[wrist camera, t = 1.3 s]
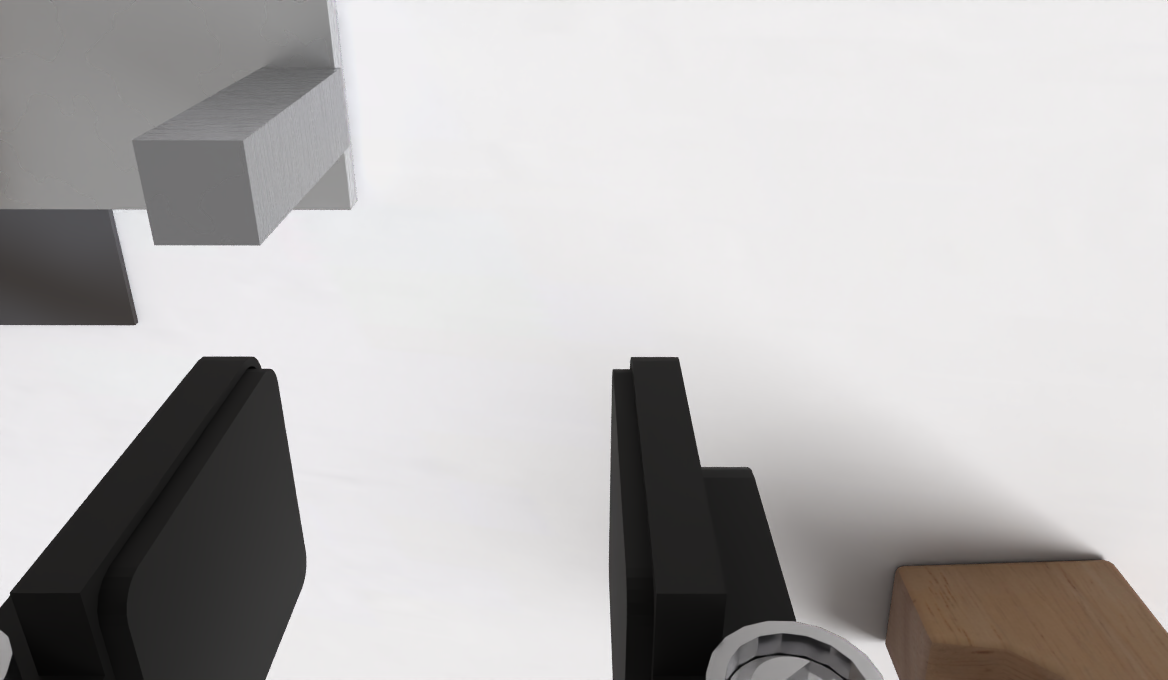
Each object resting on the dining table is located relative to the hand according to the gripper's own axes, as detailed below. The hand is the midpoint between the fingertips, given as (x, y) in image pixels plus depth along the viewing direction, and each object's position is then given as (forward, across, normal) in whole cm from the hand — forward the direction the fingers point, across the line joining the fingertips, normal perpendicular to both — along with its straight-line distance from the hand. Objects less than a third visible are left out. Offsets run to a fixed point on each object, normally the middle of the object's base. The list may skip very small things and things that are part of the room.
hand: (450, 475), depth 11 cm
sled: (+21, +17, 0) cm, 27 cm away
